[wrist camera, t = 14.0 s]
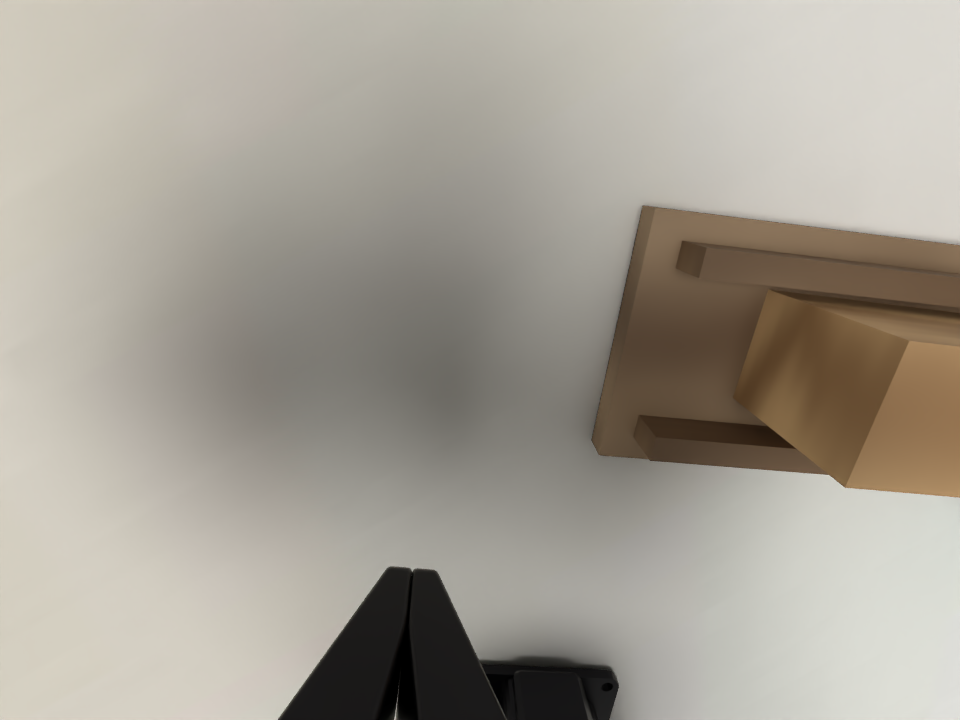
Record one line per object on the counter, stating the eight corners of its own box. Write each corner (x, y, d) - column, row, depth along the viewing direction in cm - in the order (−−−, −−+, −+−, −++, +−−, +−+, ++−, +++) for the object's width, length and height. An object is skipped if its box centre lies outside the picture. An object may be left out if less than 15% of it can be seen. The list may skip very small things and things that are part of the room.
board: (1092, 481, 20) (1179, 523, 17) (591, 440, 18) (612, 480, 15) (1218, 277, 17) (1341, 294, 15) (643, 205, 15) (677, 211, 13)
